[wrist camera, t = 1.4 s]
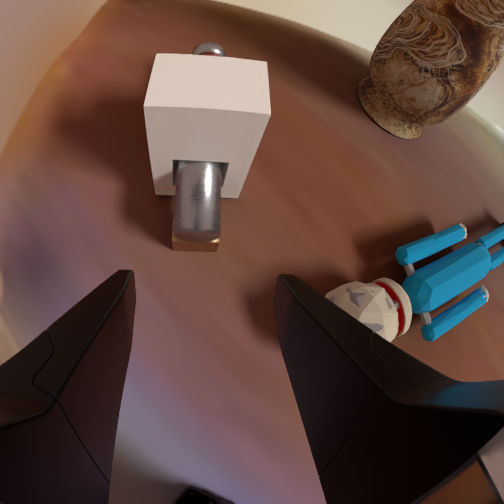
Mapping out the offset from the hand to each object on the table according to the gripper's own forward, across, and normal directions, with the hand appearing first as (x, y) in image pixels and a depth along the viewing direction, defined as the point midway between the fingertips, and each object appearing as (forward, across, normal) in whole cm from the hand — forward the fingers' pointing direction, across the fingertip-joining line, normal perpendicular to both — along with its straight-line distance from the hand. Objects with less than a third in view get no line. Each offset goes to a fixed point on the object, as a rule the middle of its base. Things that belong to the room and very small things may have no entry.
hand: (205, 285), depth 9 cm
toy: (+11, -21, +7) cm, 25 cm away
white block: (+16, 0, +2) cm, 16 cm away
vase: (+25, -20, -6) cm, 33 cm away
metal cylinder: (+18, 0, 0) cm, 18 cm away
